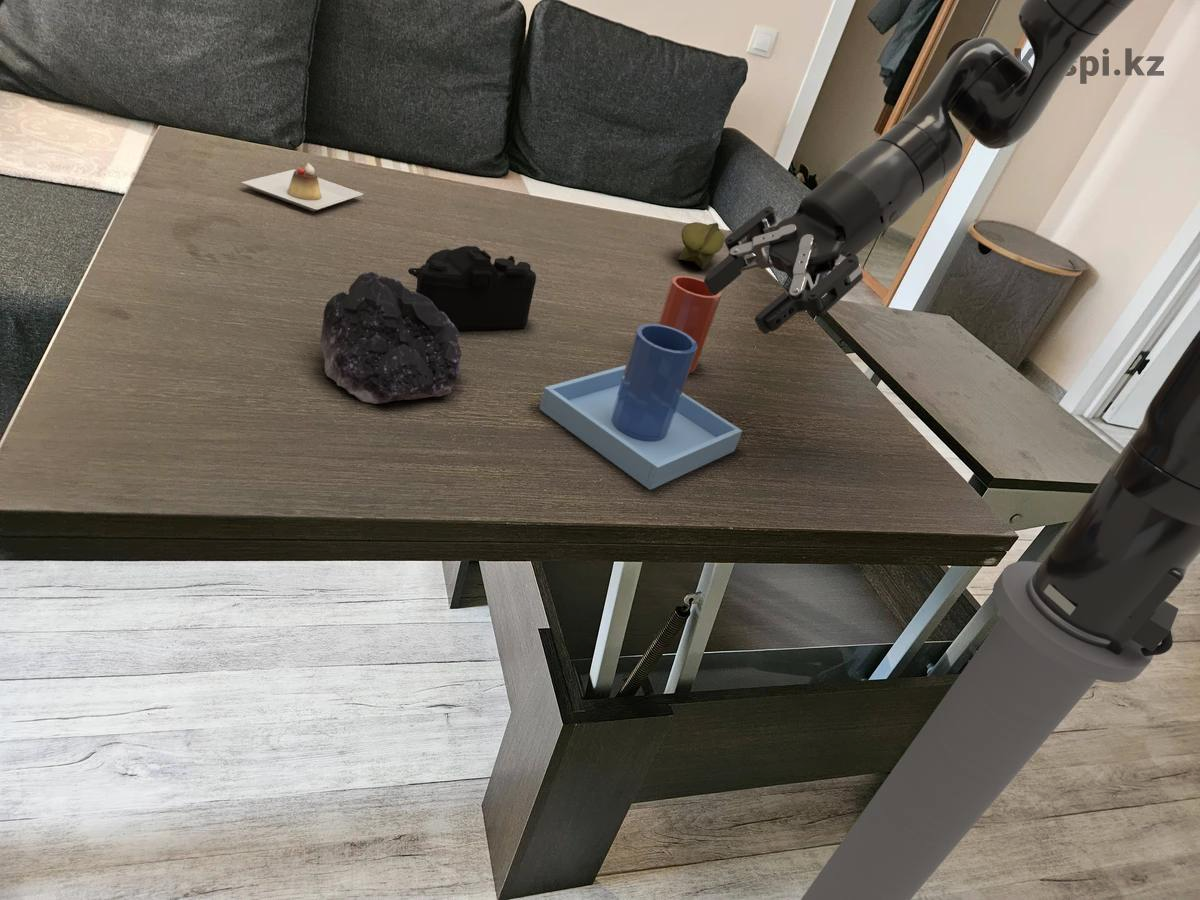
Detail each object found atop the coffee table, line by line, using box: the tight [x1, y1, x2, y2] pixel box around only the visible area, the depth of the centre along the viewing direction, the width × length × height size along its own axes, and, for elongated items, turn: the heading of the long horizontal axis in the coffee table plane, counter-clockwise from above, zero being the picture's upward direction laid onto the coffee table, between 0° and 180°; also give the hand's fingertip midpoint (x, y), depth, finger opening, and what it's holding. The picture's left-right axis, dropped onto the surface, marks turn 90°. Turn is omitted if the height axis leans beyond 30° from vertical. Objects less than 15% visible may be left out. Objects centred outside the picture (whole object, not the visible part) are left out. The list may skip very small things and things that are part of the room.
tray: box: [539, 364, 743, 491], centre depth 81 cm, size 15×14×3 cm
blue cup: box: [611, 323, 698, 441], centre depth 79 cm, size 6×6×10 cm
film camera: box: [407, 245, 537, 332], centre depth 92 cm, size 15×10×9 cm, turn 121°
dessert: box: [241, 162, 365, 212], centre depth 113 cm, size 12×12×5 cm
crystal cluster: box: [320, 271, 462, 405], centre depth 77 cm, size 13×14×10 cm
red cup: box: [657, 275, 723, 374], centre depth 95 cm, size 6×6×10 cm
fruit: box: [678, 221, 725, 270], centre depth 132 cm, size 11×12×7 cm
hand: (733, 306), depth 77 cm, fingers open, 8 cm apart
